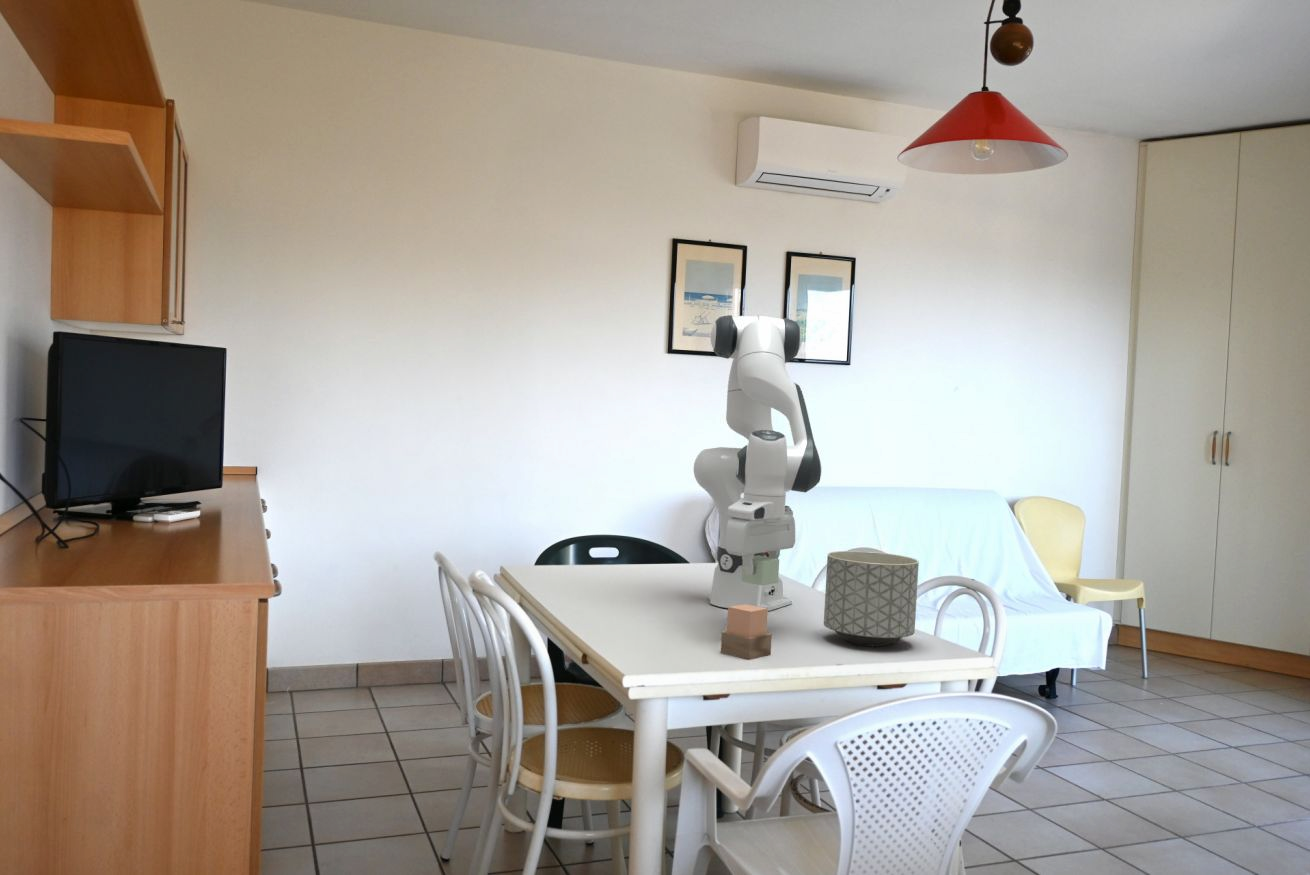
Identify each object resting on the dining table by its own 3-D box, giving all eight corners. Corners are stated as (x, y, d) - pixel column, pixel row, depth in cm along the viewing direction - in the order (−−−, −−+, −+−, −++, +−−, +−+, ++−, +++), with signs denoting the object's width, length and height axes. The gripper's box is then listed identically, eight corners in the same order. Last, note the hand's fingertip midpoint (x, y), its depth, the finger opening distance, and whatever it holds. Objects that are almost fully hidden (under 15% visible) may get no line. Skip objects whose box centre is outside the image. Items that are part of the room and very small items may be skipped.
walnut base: (742, 647, 201) (743, 627, 201) (770, 654, 197) (771, 634, 197) (720, 652, 196) (721, 632, 196) (749, 659, 191) (750, 638, 191)
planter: (896, 657, 200) (902, 567, 200) (808, 641, 210) (813, 556, 210) (925, 642, 216) (930, 558, 216) (842, 628, 226) (846, 548, 226)
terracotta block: (744, 628, 200) (745, 604, 200) (766, 633, 197) (767, 608, 196) (727, 632, 196) (728, 606, 196) (749, 637, 193) (750, 611, 192)
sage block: (757, 578, 215) (758, 555, 215) (778, 582, 211) (779, 559, 211) (741, 581, 211) (742, 557, 211) (762, 585, 207) (763, 561, 207)
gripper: (780, 503, 220) (776, 565, 221) (722, 508, 205) (718, 575, 206) (804, 506, 216) (800, 570, 217) (746, 512, 201) (742, 580, 202)
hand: (760, 572), depth 211 cm, fingers closed on sage block, 5 cm apart
